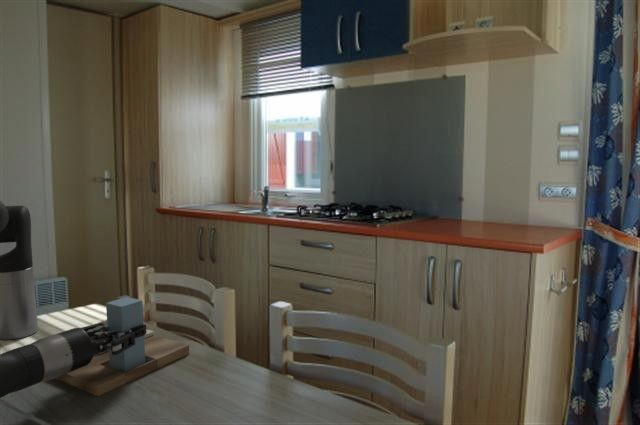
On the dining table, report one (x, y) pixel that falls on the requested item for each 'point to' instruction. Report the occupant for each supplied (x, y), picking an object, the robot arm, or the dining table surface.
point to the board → (104, 379)
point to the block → (122, 318)
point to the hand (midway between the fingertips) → (136, 326)
